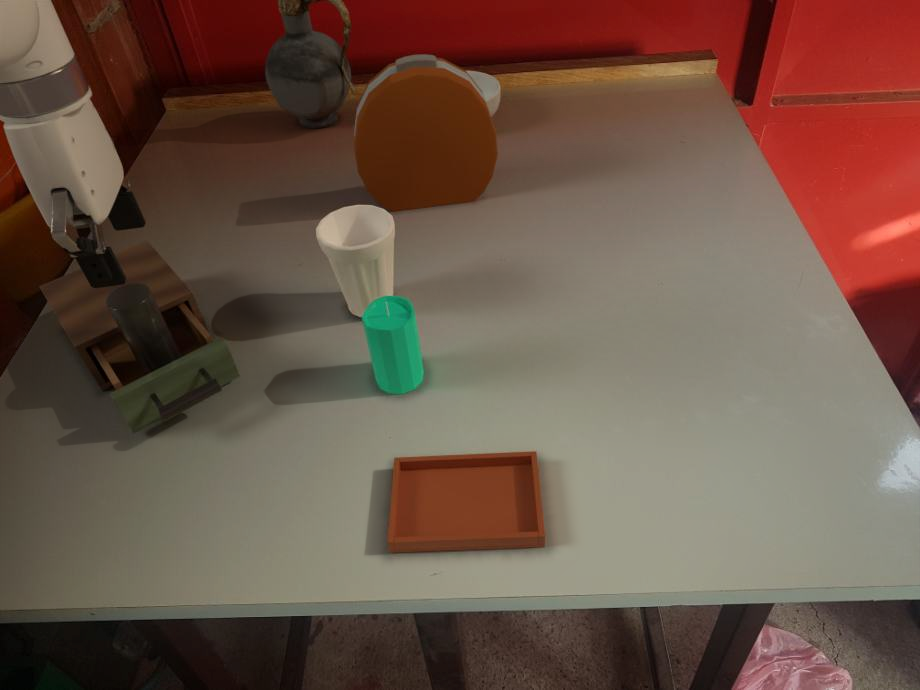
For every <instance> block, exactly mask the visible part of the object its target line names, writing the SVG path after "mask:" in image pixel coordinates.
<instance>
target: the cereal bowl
mask: <svg viewBox="0 0 920 690" xmlns="http://www.w3.org/2000/svg"><path fill="white" fill-rule="evenodd" d="M466 71H467V73H468V74H469V75H470V77H471V78H472V79H473V80H474V82H475V83H476V84H477V85H478V87H479V88H480V89H481V90H482V93H483V95H484V98H485V101H486V104H487V106H488V109H489V112H490V115H491V118H492V117H493V116H495V114H496V112H497V111H498V109H499V106H500V102H501V90H502V89H501V84H500V82H499V80H498V79H497V78H496V77H495V76H493V75H490V74H488V73H486V72H481V71H476V70H466Z"/></svg>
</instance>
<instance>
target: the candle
mask: <svg viewBox="0 0 920 690" xmlns="http://www.w3.org/2000/svg"><path fill="white" fill-rule="evenodd" d="M361 320H362V324H363V329H364V333H365V338H366V342H367V346H368V351H369V355H370V356H369V357H370V359H371V360H370V361H371V365H372V370H373V375H374V378H375V382H376V383H377V386H378V388H379V389H380V390H382V391H384V392H385V393H387V394H389V395H404V394H406V393H410V392H412V391H414V390H416V389H417V388H418V387H419V386H420V385H421V384H422V383H423V381H424V374H425V369H424V362H423V357H422V349H421V343H420V337H419V336H420V335H419V330H418V324H417V316H416V311H415V307H414V306H413V304H412V302H411V300H410V299H409V298H406V297H403V296H399V295H393V296H383V297H381V298H378V299H376V300H373V301H372V302H371V304H370V305H369V306H368V307H367V308H366V309H365V311H364V313H363V315H362V317H361Z"/></svg>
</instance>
